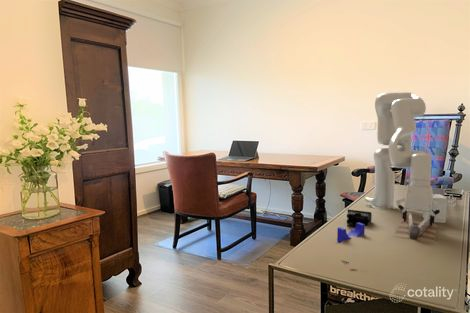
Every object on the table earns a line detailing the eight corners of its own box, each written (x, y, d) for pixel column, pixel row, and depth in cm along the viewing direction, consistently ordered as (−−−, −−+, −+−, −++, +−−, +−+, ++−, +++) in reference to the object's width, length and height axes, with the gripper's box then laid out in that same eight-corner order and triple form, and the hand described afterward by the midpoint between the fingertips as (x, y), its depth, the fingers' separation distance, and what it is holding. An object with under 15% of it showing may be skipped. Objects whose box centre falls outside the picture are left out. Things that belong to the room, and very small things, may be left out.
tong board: (433, 247, 127) (434, 230, 126) (393, 239, 135) (393, 224, 134) (437, 228, 147) (438, 213, 146) (402, 222, 155) (403, 208, 154)
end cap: (371, 224, 153) (371, 210, 152) (369, 229, 147) (369, 215, 146) (348, 221, 158) (349, 207, 157) (345, 226, 152) (345, 212, 151)
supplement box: (445, 225, 149) (447, 198, 148) (427, 225, 151) (429, 197, 149) (439, 220, 157) (441, 194, 155) (422, 219, 158) (423, 193, 156)
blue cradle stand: (355, 235, 141) (356, 221, 140) (364, 238, 137) (364, 224, 137) (334, 240, 136) (334, 226, 135) (342, 244, 132) (343, 230, 131)
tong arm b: (421, 236, 133) (421, 228, 132) (416, 235, 134) (416, 227, 133) (432, 223, 147) (433, 216, 146) (428, 222, 148) (428, 215, 147)
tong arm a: (412, 234, 135) (412, 226, 134) (407, 234, 135) (407, 225, 135) (411, 220, 151) (411, 212, 151) (406, 219, 152) (407, 212, 152)
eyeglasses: (458, 209, 174) (459, 200, 173) (417, 206, 180) (418, 197, 179) (450, 201, 188) (451, 192, 188) (413, 199, 195) (413, 190, 194)
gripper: (395, 182, 141) (393, 221, 143) (443, 186, 132) (441, 228, 134) (398, 179, 147) (396, 217, 150) (444, 183, 138) (442, 223, 140)
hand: (417, 222), depth 142 cm, fingers open, 9 cm apart
